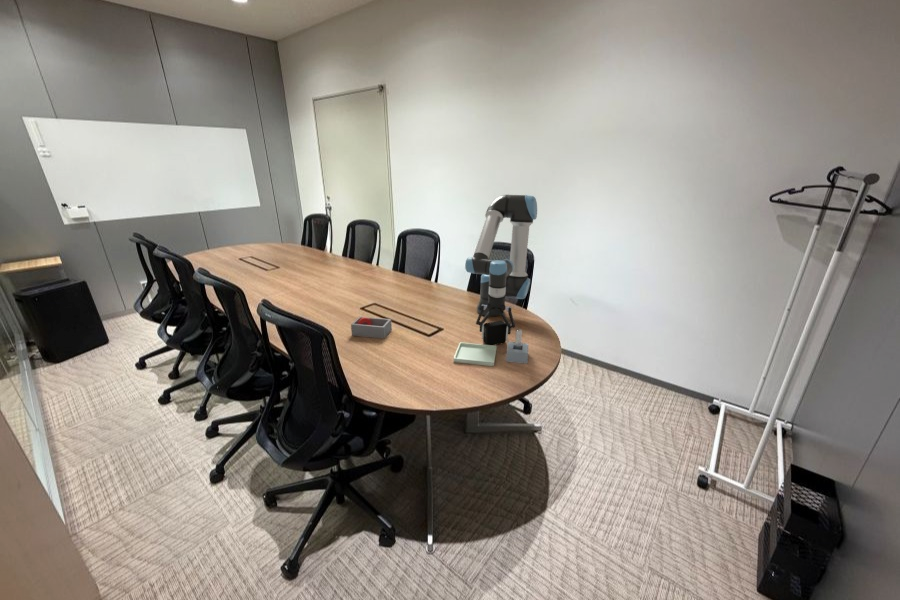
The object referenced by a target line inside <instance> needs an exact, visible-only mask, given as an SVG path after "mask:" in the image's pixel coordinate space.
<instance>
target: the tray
mask: <svg viewBox="0 0 900 600" xmlns="http://www.w3.org/2000/svg"><path fill="white" fill-rule="evenodd" d="M497 348H498V345H486V344H485V343H484V344H480V343H471V342H462V341H461V342H459V343H458V345H457V348H456V351H455V352H454V356H453V360H452V361H453V363H458V364H459V363H461V364H470V365H478V366H487V367H488V366H489V367H494V366H495V361H496V354H497V351H498V350H497Z"/></svg>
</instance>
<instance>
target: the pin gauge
mask: <svg viewBox="0 0 900 600" xmlns="http://www.w3.org/2000/svg"><path fill="white" fill-rule="evenodd" d="M522 336H523V330H522V329H520V328H519V329H516V331H515V349H518V350H520V349H521V343H522Z"/></svg>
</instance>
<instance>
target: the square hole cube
mask: <svg viewBox="0 0 900 600" xmlns="http://www.w3.org/2000/svg"><path fill="white" fill-rule="evenodd" d="M506 346H507V347H506V359H505V362H507V363H508V362H509V363H517V364H528V362H529V361H528V360H529V343H526V342H521V349H520V350H518V349H515V342H513V341H507V345H506Z"/></svg>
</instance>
